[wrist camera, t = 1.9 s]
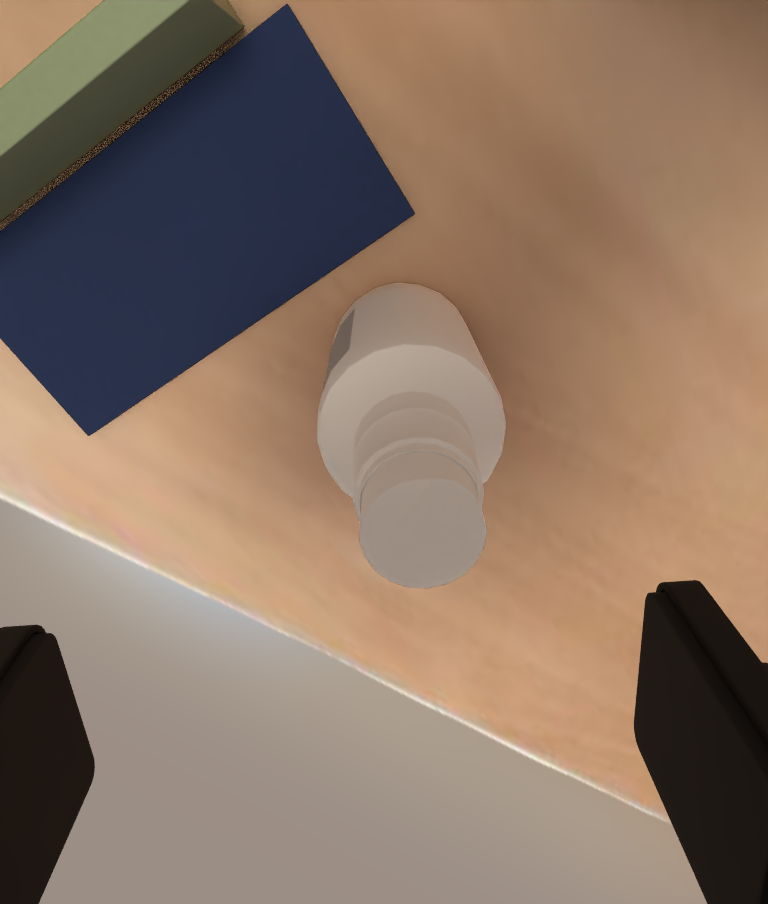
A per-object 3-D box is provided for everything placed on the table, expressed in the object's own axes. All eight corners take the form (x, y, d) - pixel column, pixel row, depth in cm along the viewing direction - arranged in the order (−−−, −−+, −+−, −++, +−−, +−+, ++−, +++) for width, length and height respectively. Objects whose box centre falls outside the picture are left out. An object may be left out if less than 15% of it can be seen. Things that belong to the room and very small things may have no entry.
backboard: (244, 27, 29) (200, -10, 22) (-28, 244, 33) (-143, 274, 26) (222, -9, 29) (170, -58, 22) (-52, 216, 32) (-177, 238, 25)
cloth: (414, 213, 33) (415, 214, 32) (91, 433, 37) (88, 436, 37) (288, 4, 29) (287, 3, 29) (-52, 274, 34) (-57, 275, 33)
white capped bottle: (304, 343, 35) (240, 525, 19) (410, 250, 33) (442, 361, 17) (394, 438, 37) (407, 678, 21) (497, 356, 35) (602, 546, 19)
